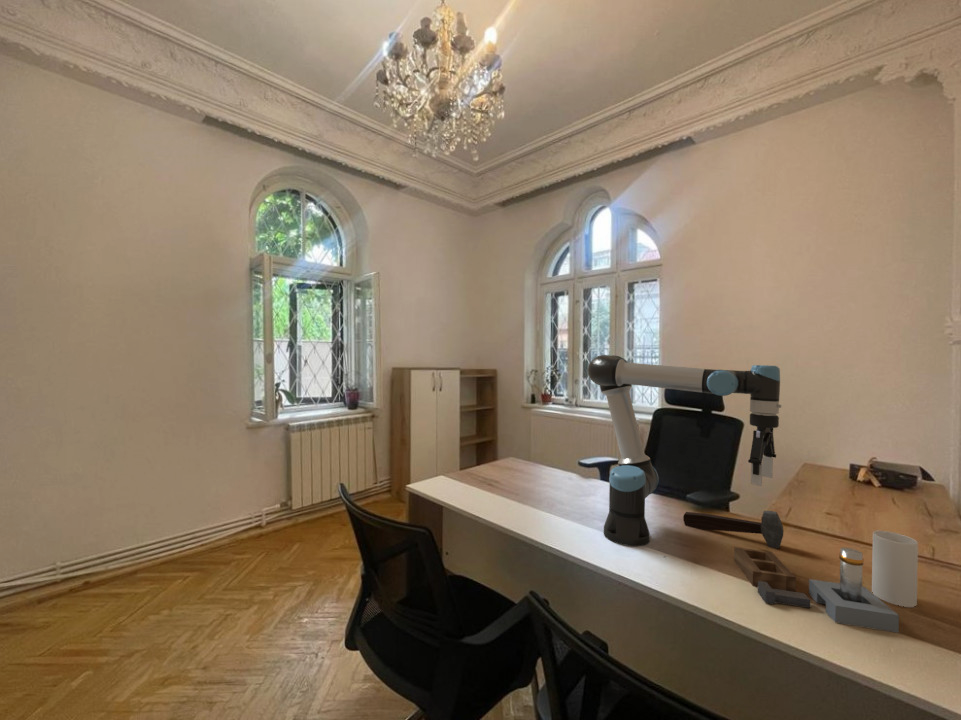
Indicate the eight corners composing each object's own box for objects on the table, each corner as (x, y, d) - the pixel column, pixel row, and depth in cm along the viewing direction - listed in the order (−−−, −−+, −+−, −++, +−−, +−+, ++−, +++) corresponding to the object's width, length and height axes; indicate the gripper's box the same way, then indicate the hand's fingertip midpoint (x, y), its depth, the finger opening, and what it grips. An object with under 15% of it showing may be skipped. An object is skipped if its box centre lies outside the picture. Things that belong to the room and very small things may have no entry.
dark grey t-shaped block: (765, 602, 101) (765, 591, 101) (757, 592, 106) (757, 580, 106) (812, 610, 98) (812, 598, 98) (802, 598, 103) (802, 587, 103)
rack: (752, 585, 109) (752, 571, 109) (734, 559, 124) (734, 546, 124) (795, 592, 107) (795, 577, 107) (771, 565, 121) (771, 551, 121)
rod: (845, 615, 97) (846, 554, 97) (834, 605, 101) (835, 546, 101) (867, 619, 96) (868, 556, 96) (855, 608, 100) (856, 548, 100)
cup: (863, 589, 109) (864, 530, 109) (890, 588, 109) (891, 530, 109) (897, 608, 100) (898, 544, 100) (926, 607, 101) (927, 543, 101)
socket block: (835, 622, 94) (835, 605, 94) (808, 594, 106) (809, 579, 106) (898, 632, 91) (898, 615, 91) (864, 602, 103) (864, 586, 103)
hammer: (684, 536, 149) (785, 550, 130) (680, 505, 150) (780, 515, 131) (687, 532, 152) (785, 545, 134) (683, 502, 153) (780, 511, 135)
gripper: (768, 418, 115) (766, 491, 115) (787, 412, 132) (785, 476, 132) (738, 415, 121) (736, 485, 121) (760, 409, 138) (758, 471, 138)
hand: (761, 480), depth 127 cm, fingers open, 13 cm apart
